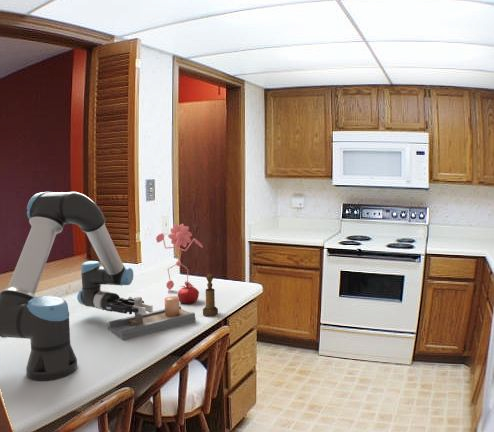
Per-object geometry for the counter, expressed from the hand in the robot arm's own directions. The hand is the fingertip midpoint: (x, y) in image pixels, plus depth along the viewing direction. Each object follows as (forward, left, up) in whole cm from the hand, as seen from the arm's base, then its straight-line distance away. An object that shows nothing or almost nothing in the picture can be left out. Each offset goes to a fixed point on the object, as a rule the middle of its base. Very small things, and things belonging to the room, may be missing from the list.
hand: (148, 310), depth 183 cm
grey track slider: (+8, +5, -7) cm, 12 cm away
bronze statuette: (+30, +2, -9) cm, 32 cm away
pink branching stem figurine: (+40, +44, -9) cm, 60 cm away
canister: (+13, +5, -6) cm, 15 cm away
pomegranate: (+32, +24, -9) cm, 41 cm away
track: (+4, +5, -9) cm, 11 cm away
